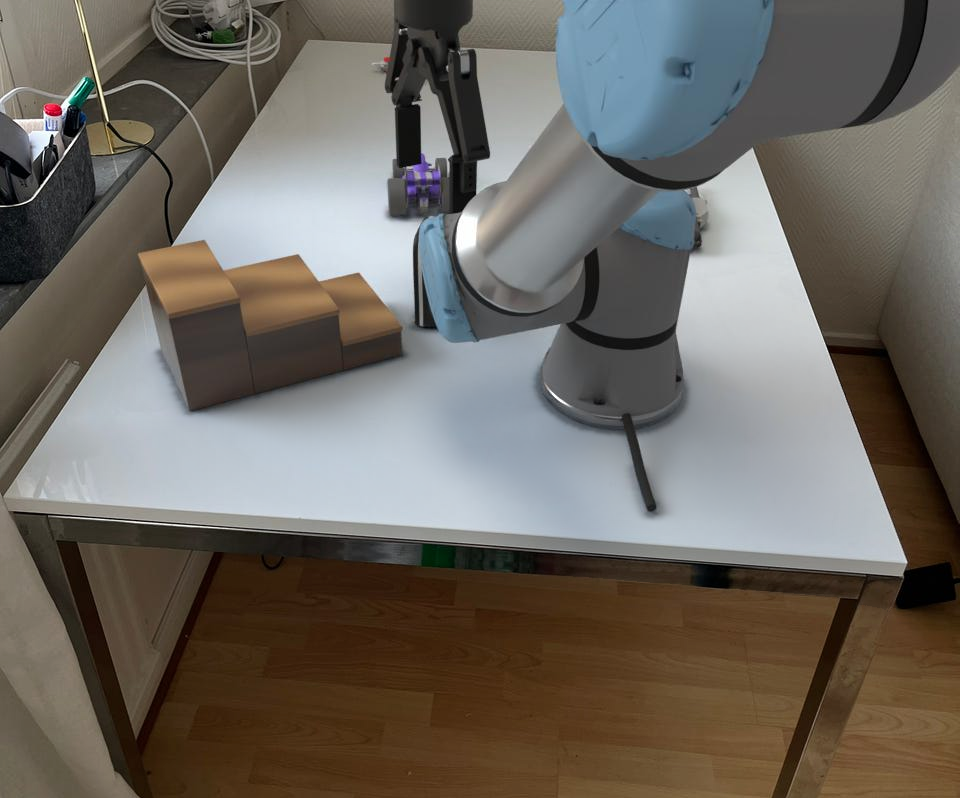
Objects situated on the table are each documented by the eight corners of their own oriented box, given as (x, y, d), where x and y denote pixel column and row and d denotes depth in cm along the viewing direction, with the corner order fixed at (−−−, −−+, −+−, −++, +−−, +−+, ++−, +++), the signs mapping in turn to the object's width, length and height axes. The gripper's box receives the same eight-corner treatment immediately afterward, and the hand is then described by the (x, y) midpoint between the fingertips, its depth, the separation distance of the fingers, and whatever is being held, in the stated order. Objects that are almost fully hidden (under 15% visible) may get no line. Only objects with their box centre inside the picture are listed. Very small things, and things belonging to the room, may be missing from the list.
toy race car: (451, 172, 145) (451, 128, 141) (459, 220, 134) (460, 174, 130) (386, 173, 144) (384, 129, 140) (389, 221, 133) (387, 176, 129)
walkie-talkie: (714, 256, 128) (697, 188, 143) (721, 225, 125) (702, 158, 140) (647, 253, 128) (636, 185, 143) (651, 222, 125) (640, 156, 140)
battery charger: (445, 332, 114) (445, 242, 106) (413, 328, 114) (411, 238, 106) (458, 301, 119) (459, 213, 111) (427, 297, 119) (426, 209, 112)
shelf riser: (403, 356, 110) (400, 260, 102) (190, 413, 101) (168, 313, 93) (360, 301, 118) (354, 208, 110) (160, 349, 110) (137, 253, 102)
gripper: (533, 10, 85) (520, 234, 99) (415, -62, 101) (418, 139, 115) (455, 21, 82) (453, 249, 97) (346, -55, 98) (359, 150, 113)
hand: (434, 190), depth 106 cm, fingers open, 13 cm apart
